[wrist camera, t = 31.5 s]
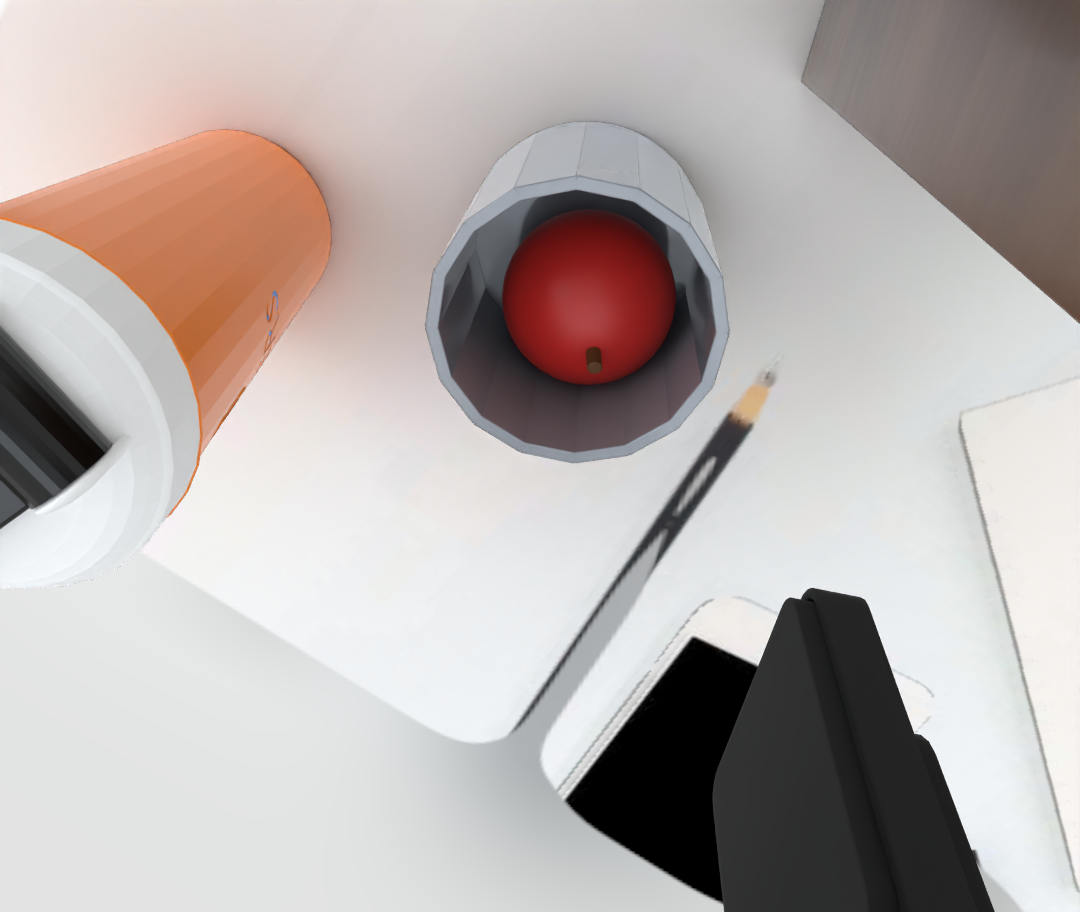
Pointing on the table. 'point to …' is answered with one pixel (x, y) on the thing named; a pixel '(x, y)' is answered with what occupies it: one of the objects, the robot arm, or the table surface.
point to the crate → (971, 115)
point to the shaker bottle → (138, 337)
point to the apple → (589, 296)
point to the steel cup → (477, 283)
